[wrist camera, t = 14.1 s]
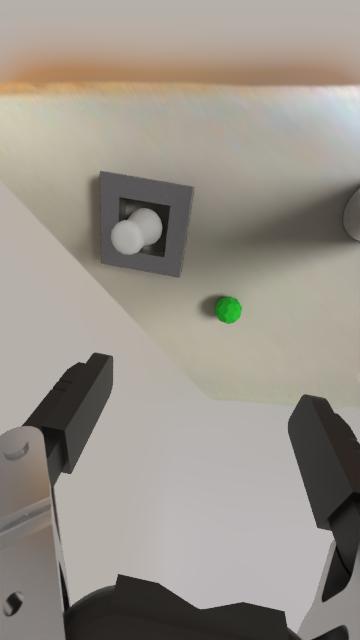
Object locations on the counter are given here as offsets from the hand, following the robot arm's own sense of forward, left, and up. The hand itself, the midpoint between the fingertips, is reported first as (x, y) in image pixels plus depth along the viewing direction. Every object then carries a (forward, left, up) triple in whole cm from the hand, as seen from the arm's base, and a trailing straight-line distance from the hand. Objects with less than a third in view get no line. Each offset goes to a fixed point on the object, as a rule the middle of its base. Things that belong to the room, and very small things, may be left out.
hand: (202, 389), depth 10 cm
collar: (+11, 0, -36) cm, 38 cm away
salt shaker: (+11, 0, -36) cm, 38 cm away
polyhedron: (-6, +12, -36) cm, 39 cm away
